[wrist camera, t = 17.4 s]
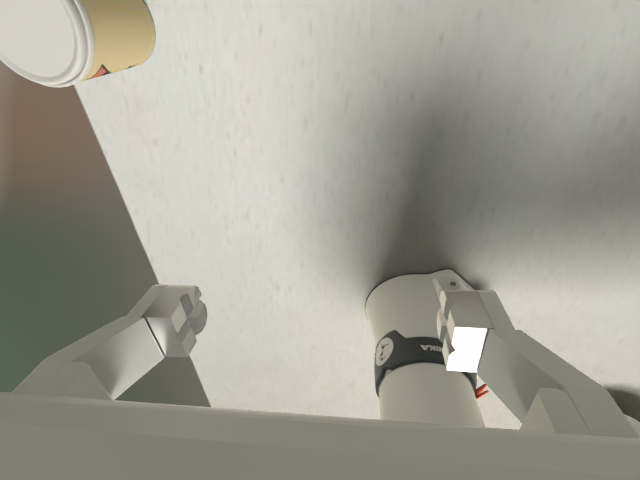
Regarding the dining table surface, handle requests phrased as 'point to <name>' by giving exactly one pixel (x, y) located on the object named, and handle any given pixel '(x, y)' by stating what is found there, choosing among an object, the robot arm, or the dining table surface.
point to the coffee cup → (74, 38)
